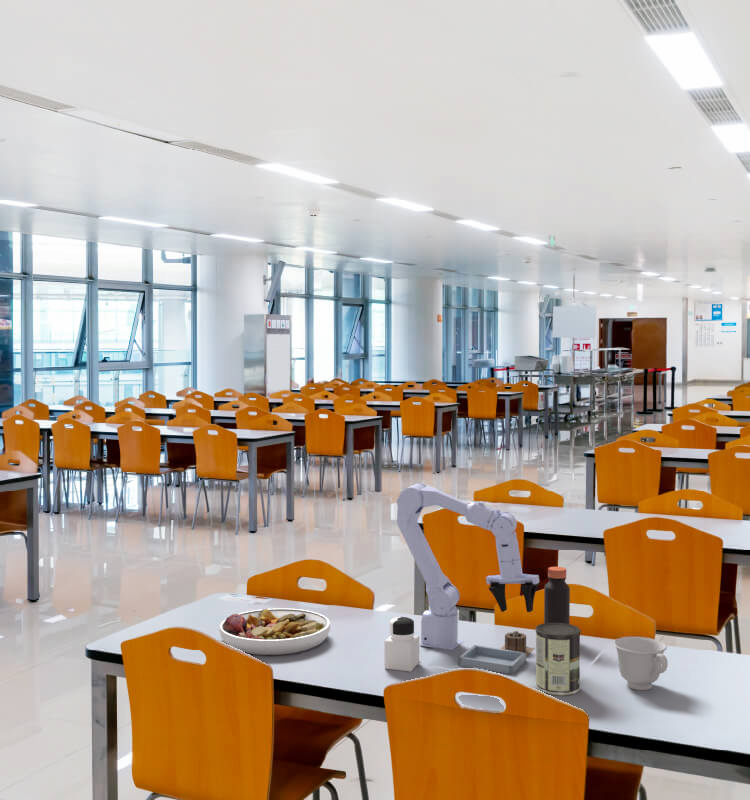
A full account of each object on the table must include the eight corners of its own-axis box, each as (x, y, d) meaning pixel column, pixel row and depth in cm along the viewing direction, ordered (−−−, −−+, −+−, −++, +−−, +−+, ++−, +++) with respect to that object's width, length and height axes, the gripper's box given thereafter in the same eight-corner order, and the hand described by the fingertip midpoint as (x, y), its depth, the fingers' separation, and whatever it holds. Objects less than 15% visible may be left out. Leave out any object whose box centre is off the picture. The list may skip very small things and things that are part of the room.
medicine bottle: (419, 663, 231) (419, 616, 231) (411, 672, 225) (411, 624, 224) (392, 660, 234) (392, 613, 233) (384, 669, 227) (383, 621, 226)
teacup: (644, 703, 204) (644, 659, 204) (602, 681, 218) (602, 640, 218) (686, 694, 209) (686, 651, 209) (642, 674, 223) (643, 633, 222)
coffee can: (566, 678, 220) (566, 620, 220) (588, 693, 211) (588, 632, 210) (527, 682, 217) (528, 624, 217) (547, 698, 208) (548, 637, 207)
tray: (458, 667, 228) (458, 657, 228) (474, 654, 238) (474, 644, 238) (511, 676, 222) (512, 666, 222) (526, 662, 231) (526, 652, 231)
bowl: (314, 621, 269) (314, 594, 269) (343, 652, 241) (343, 623, 240) (212, 631, 260) (212, 603, 259) (229, 664, 231) (229, 634, 231)
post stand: (495, 654, 238) (495, 633, 238) (505, 645, 245) (506, 625, 245) (525, 659, 234) (525, 637, 234) (534, 650, 241) (535, 629, 241)
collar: (502, 651, 238) (502, 636, 238) (509, 646, 243) (509, 631, 243) (521, 654, 236) (521, 639, 236) (528, 648, 241) (528, 634, 240)
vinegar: (574, 643, 247) (574, 570, 246) (552, 646, 244) (553, 572, 243) (560, 636, 253) (560, 564, 252) (539, 639, 251) (539, 567, 250)
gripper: (541, 555, 238) (548, 607, 238) (492, 556, 246) (499, 606, 246) (529, 561, 232) (537, 614, 232) (479, 562, 240) (487, 613, 240)
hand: (516, 611), depth 239 cm, fingers open, 7 cm apart
